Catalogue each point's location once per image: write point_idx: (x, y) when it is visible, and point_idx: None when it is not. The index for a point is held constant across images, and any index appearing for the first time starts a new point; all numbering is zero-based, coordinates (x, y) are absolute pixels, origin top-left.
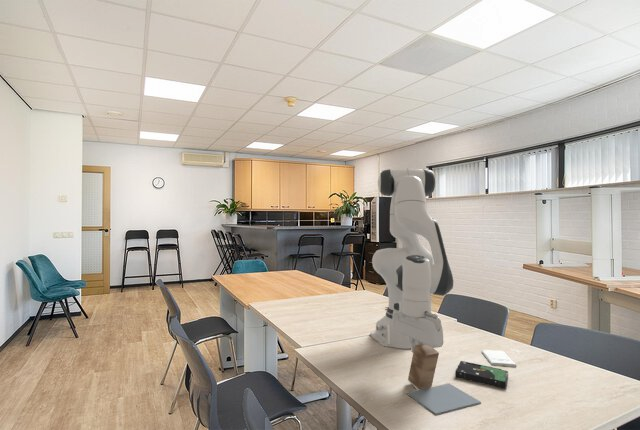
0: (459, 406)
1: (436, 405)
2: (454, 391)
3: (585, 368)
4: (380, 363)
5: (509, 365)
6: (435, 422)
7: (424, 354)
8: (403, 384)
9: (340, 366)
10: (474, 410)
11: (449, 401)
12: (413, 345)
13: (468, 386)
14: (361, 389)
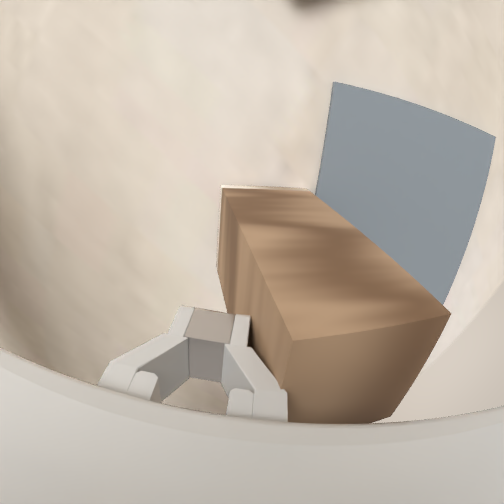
0: (466, 236)
1: None
2: (403, 140)
3: None
4: (22, 221)
5: None
6: (438, 349)
7: (378, 419)
8: (215, 276)
9: (37, 347)
10: (495, 203)
11: (432, 238)
12: (177, 376)
13: (390, 23)
14: (189, 397)
